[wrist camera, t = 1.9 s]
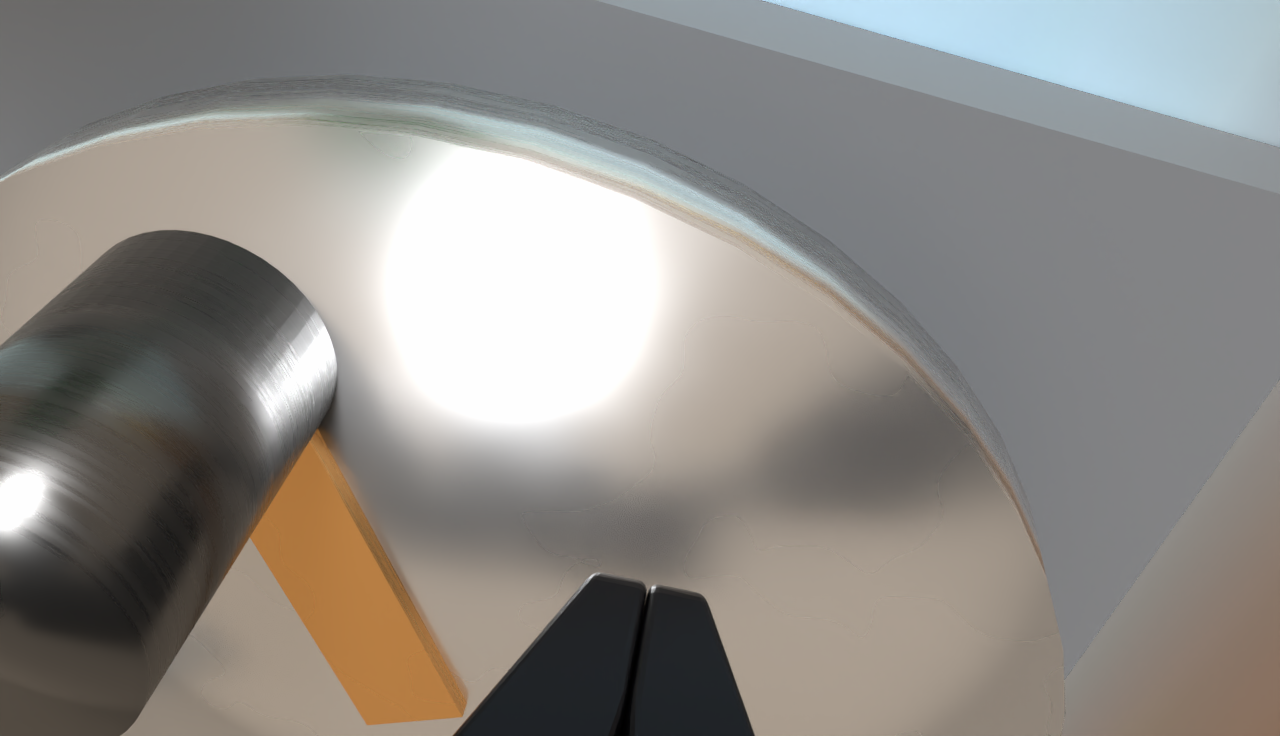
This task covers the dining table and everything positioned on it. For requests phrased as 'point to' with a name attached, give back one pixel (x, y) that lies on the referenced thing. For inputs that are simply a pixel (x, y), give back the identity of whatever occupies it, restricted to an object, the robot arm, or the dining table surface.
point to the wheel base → (839, 205)
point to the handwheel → (471, 429)
